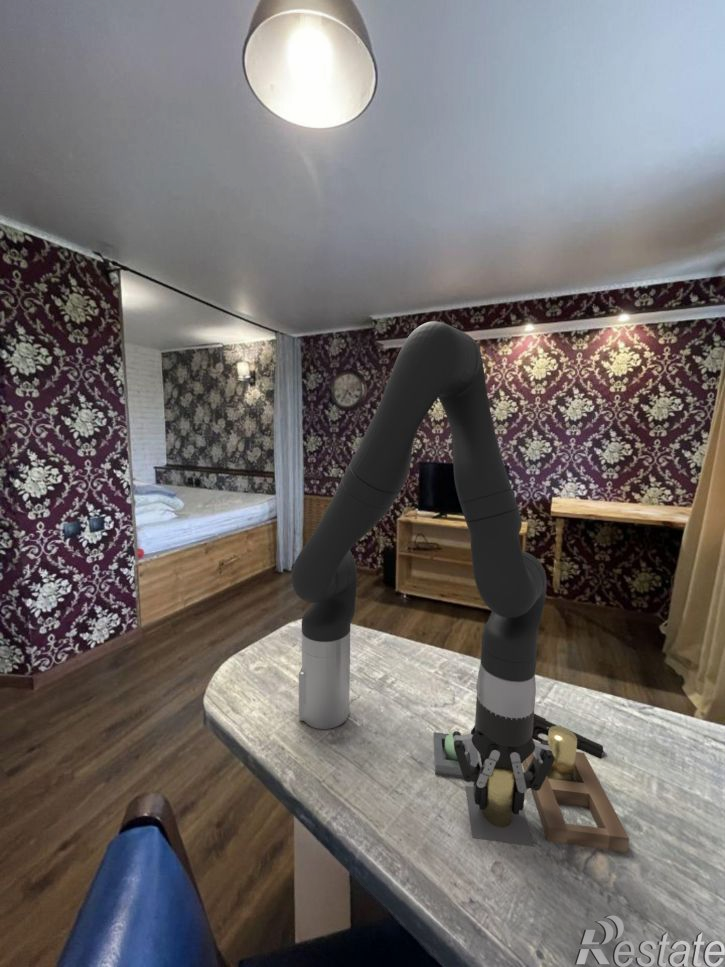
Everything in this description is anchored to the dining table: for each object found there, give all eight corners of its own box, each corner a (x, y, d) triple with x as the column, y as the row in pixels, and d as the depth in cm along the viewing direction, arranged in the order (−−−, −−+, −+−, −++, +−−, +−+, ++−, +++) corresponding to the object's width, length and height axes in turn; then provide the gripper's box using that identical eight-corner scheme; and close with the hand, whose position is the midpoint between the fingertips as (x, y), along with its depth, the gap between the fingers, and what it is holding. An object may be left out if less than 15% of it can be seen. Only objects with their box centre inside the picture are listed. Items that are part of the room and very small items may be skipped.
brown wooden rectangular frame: (547, 843, 53) (548, 827, 53) (520, 759, 67) (521, 745, 67) (627, 854, 52) (629, 838, 52) (582, 766, 66) (584, 752, 65)
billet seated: (549, 790, 61) (553, 743, 60) (541, 768, 65) (545, 724, 64) (576, 793, 61) (581, 746, 60) (567, 771, 65) (571, 727, 64)
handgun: (592, 792, 60) (604, 742, 69) (482, 733, 70) (505, 696, 80) (590, 805, 60) (602, 753, 70) (481, 744, 71) (504, 706, 80)
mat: (472, 840, 54) (472, 837, 54) (464, 787, 61) (465, 785, 61) (534, 849, 53) (534, 846, 53) (518, 794, 60) (518, 792, 60)
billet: (485, 825, 55) (488, 774, 54) (480, 799, 59) (483, 750, 58) (514, 829, 55) (518, 777, 54) (508, 802, 59) (511, 754, 58)
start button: (445, 760, 65) (446, 749, 64) (443, 743, 68) (444, 732, 68) (467, 762, 64) (468, 751, 64) (465, 745, 68) (465, 734, 68)
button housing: (435, 776, 64) (435, 764, 63) (433, 742, 70) (433, 732, 70) (479, 781, 63) (480, 770, 62) (473, 746, 70) (474, 736, 69)
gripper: (455, 710, 52) (449, 825, 54) (570, 721, 50) (559, 840, 52) (450, 675, 59) (445, 777, 61) (550, 684, 57) (541, 789, 60)
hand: (497, 805), depth 57 cm, fingers closed on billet, 4 cm apart
